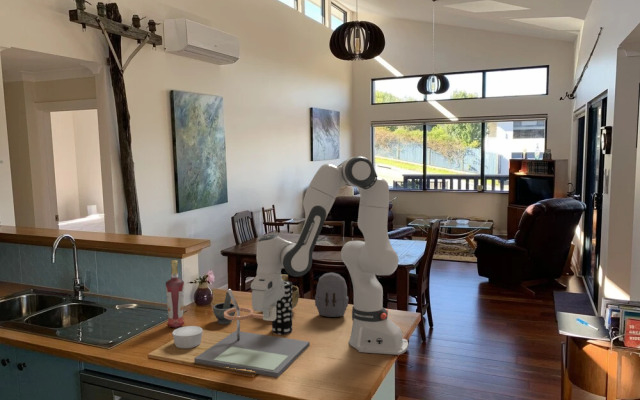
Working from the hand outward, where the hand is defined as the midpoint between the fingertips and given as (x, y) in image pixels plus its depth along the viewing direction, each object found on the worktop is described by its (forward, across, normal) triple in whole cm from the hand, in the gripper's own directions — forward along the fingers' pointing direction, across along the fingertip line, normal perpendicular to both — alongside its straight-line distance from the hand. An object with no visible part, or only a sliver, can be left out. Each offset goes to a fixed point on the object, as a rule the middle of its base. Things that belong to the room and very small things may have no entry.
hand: (269, 315), depth 179 cm
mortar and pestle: (+13, -20, -31) cm, 39 cm away
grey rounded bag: (+13, -42, +10) cm, 45 cm away
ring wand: (+1, 0, -8) cm, 8 cm away
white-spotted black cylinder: (+13, -18, -3) cm, 22 cm away
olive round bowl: (+13, -40, -14) cm, 44 cm away
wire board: (+13, +6, -3) cm, 14 cm away
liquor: (+13, -7, -47) cm, 49 cm away
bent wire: (+12, +3, -13) cm, 18 cm away
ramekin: (+13, +7, -31) cm, 35 cm away
